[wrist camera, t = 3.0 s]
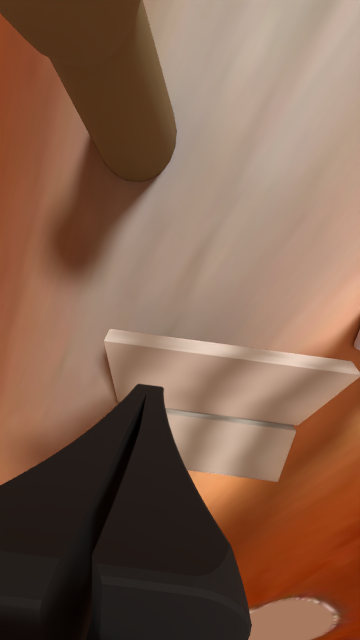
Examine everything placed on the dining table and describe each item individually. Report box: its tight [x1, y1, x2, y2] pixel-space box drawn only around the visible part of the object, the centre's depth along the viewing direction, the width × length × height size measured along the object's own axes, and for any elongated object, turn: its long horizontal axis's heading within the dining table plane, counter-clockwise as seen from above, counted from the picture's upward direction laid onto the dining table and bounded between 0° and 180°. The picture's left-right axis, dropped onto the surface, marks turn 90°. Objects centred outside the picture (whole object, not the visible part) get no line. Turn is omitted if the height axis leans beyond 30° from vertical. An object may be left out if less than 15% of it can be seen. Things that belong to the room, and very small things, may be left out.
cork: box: [0, 0, 177, 182], centre depth 9 cm, size 6×6×11 cm
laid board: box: [119, 402, 296, 482], centre depth 21 cm, size 18×8×1 cm, turn 83°
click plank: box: [104, 329, 360, 425], centre depth 17 cm, size 18×9×1 cm, turn 83°
